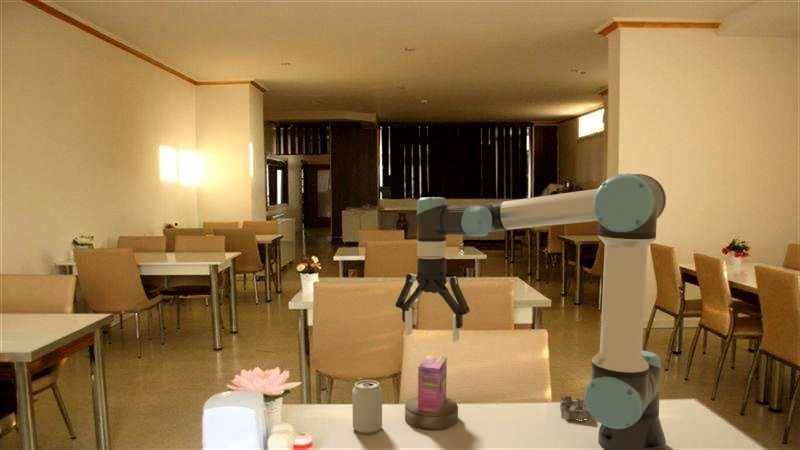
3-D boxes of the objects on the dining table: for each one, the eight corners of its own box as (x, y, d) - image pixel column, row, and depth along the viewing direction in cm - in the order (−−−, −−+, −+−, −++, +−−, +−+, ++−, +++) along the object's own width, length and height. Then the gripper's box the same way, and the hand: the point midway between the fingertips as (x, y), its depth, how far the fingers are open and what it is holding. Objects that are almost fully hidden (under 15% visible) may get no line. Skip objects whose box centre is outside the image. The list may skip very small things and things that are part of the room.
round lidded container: (465, 414, 163) (465, 400, 163) (445, 434, 151) (445, 419, 151) (419, 405, 170) (419, 392, 170) (395, 424, 158) (395, 409, 157)
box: (439, 413, 154) (439, 368, 153) (417, 411, 156) (417, 366, 155) (447, 398, 164) (447, 356, 163) (426, 396, 166) (426, 354, 165)
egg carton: (562, 405, 170) (562, 391, 170) (590, 409, 168) (590, 395, 168) (558, 420, 160) (558, 405, 160) (587, 424, 158) (588, 408, 158)
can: (385, 424, 157) (385, 379, 156) (376, 436, 150) (376, 389, 149) (358, 421, 159) (358, 377, 158) (348, 433, 152) (348, 386, 151)
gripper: (482, 257, 154) (481, 339, 156) (395, 252, 166) (396, 328, 168) (471, 261, 148) (471, 346, 149) (382, 255, 159) (383, 334, 161)
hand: (431, 337), depth 159 cm, fingers open, 13 cm apart
